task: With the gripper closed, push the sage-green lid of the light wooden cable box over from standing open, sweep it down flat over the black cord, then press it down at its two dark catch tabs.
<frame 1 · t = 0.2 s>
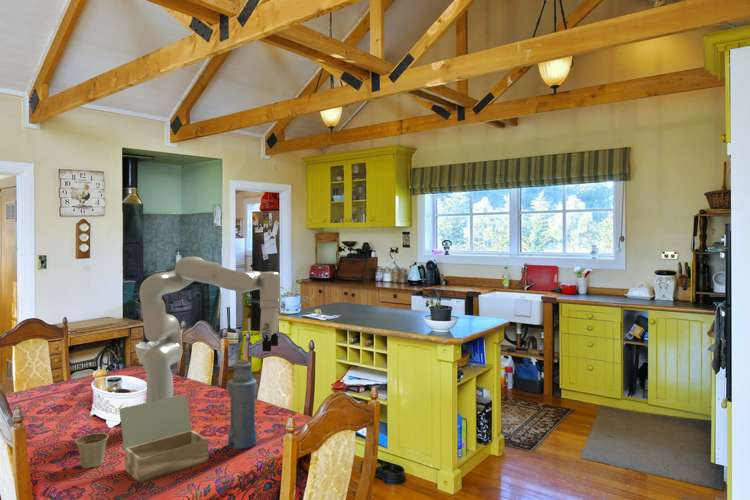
hand: (270, 348, 197), 31 cm above the table, tool pointing down, fingers open, 9 cm apart
skull: (156, 390, 248), on the table
flower pot: (92, 465, 167), on the table
bottle: (242, 444, 183), on the table
cable box: (167, 465, 166), on the table
lid: (156, 419, 172), point 13 cm above the table, hinge at 108.0°, touching cable box
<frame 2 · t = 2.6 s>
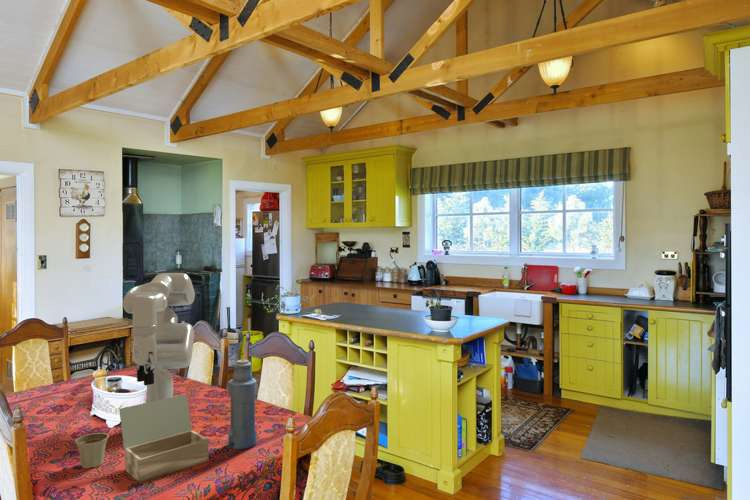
hand: (145, 382, 178), 23 cm above the table, tool pointing down, fingers open, 5 cm apart
nothing on the table moved.
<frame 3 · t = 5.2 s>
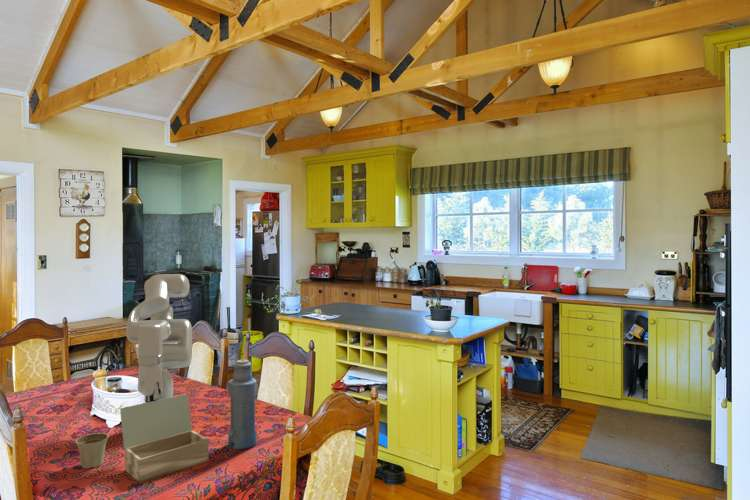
hand: (151, 413, 174), 14 cm above the table, tool pointing down, fingers closed
lid: (157, 419, 171), point 13 cm above the table, hinge at 104.1°, touching gripper
everything else where it was.
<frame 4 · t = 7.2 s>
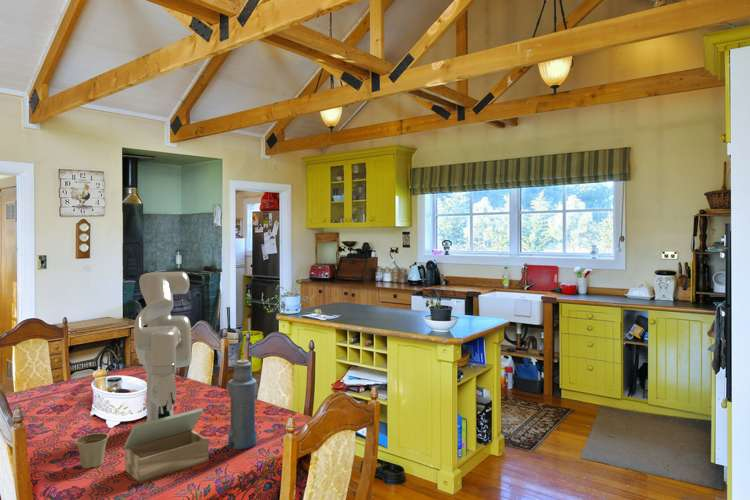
hand: (164, 424, 167), 13 cm above the table, tool pointing down, fingers closed
lid: (164, 427, 167), point 12 cm above the table, hinge at 45.7°, touching gripper
everything else where it was.
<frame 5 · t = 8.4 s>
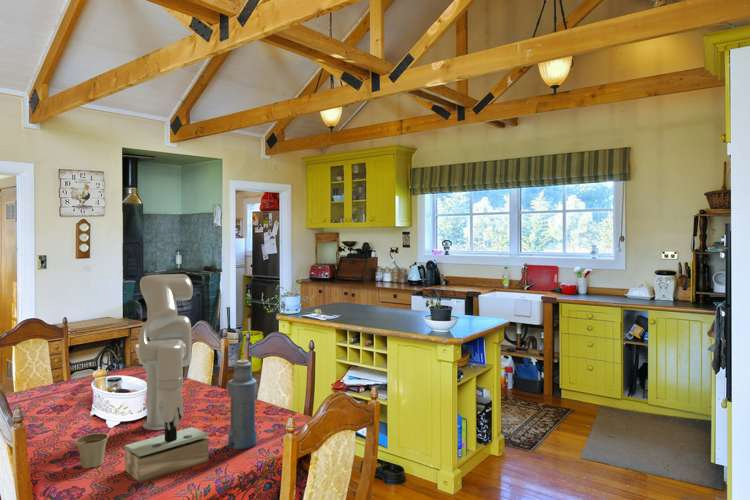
hand: (170, 440, 164), 9 cm above the table, tool pointing down, fingers closed
lid: (167, 440, 166), point 8 cm above the table, hinge at 5.4°, touching gripper
everything else where it was.
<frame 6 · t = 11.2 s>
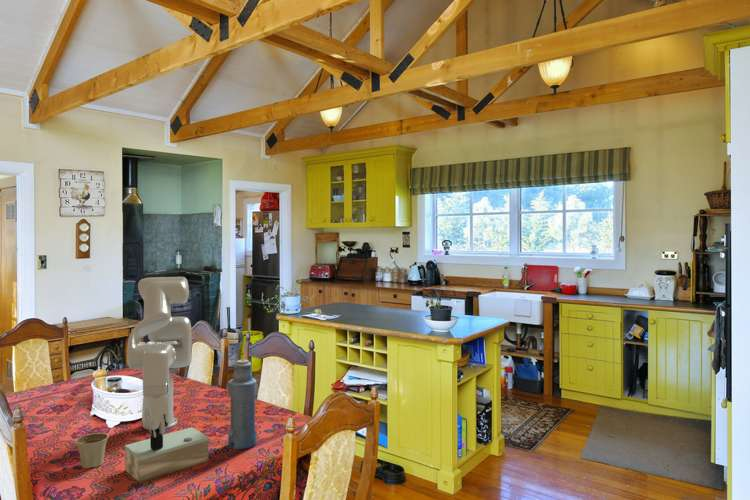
hand: (156, 448, 159), 8 cm above the table, tool pointing down, fingers closed
lid: (167, 442, 165), point 8 cm above the table, hinge at 0.0°, touching cable box, gripper
everything else where it was.
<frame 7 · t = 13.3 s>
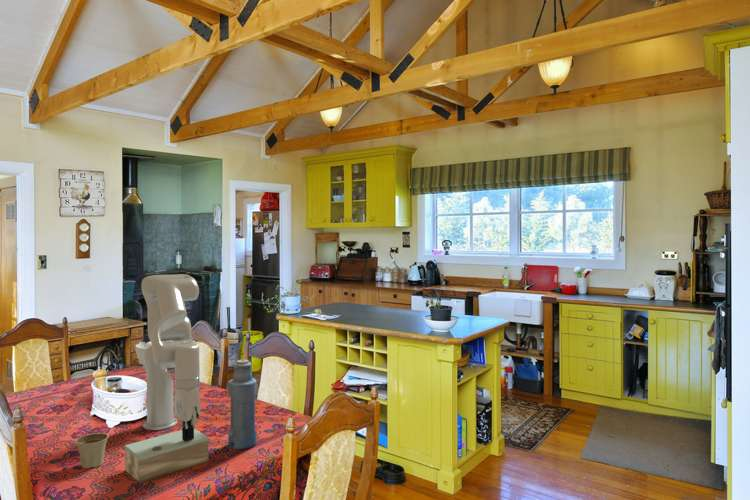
hand: (188, 439, 166), 8 cm above the table, tool pointing down, fingers closed
nothing on the table moved.
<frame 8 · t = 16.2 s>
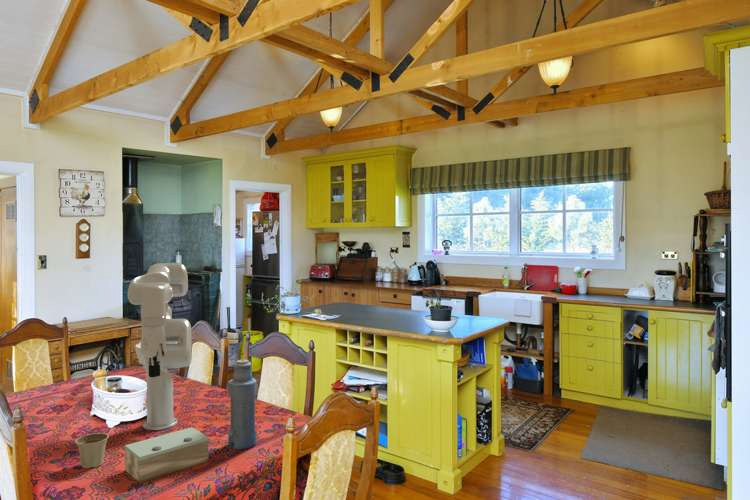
hand: (154, 376, 172), 27 cm above the table, tool pointing down, fingers closed
lid: (167, 442, 165), point 8 cm above the table, hinge at 0.0°, touching cable box
everything else where it was.
at the end: lid at +0° (first picture: +108°); flower pot moved 0.2 cm from its start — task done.
